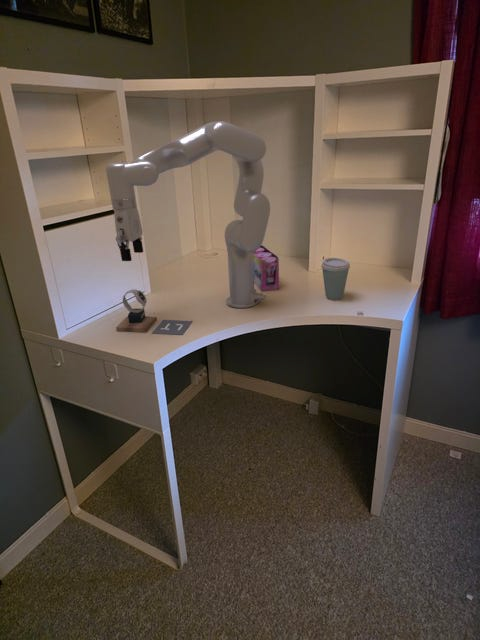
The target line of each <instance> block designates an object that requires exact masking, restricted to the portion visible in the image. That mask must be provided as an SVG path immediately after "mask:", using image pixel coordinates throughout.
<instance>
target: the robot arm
mask: <svg viewBox="0 0 480 640" xmlns="http://www.w3.org/2000/svg"><path fill="white" fill-rule="evenodd" d="M216 151H221V152H224V153H225V154H226V153H227V154H228V155H231V157H232V158H233V159H234V160H235V161H236V164H237V166H238V170H239V172H238V173H239V174H238V175H239V176H238V182H237V183H238V184H237V187H236V192H235V195H234V202H233V209H234V212H235V213H236V214H237V215H238V216H240V217H242V220H241V219H235V220H232V221H231V222H229V223H228V224H227V225H226V227H225V230H224V239H225V240H224V242H225V246H226V252H227V265H228V266H227V267H228V269H227V270H228V282H229V283H228V284H229V285H228V286H229V296H228V297H227V298H226V300H225V303H226V305H228V306H229V307H231V308H235V309H247V308H251V307H254V306H257V305H258V304H259V300H263V301H265V300H266V299H267V298H266V297H267V295H266V294H264V293H263V292H260V293H259V292H257V289H256V288H255V283H254V261H253V252H254V251H256V250H258V249H259V248H260V246H261V245H263V243H264V240H265V239H264V238H265V237H266V232H267V228H268V223H269V219H270V215H271V204H270V201H269V199H268V197H267V196H266V195H265V194H264V193H262V188H263V182H264V174H265V172H264V170H265V169H264V164H263V162H262V159H263V158H264V157H265V155H266V153H267V152H266V151H267V144H266V142H265V140H264V139H263V138H262V137H261V136H260V135H259V134H256V133H254V132H252V131H249V130H246V129H244V128H241V127H239V126H237V125H235V124H232V123H230V122H227V121H222V120H221V121H210V122H208V123H206V124H204V125H202V126H200V127H197V128H195V129H194V130H192V131H190V132H188V133H185V134H183V135H182V136H180V137H178V138H176V139H174V140H171V141H170V142H168V143H166V144H164V145H161V146H160V147H158V148H155V149H153V150H151V151H148V152H147V153H145V154H143V155H141V156H139V157H137V158H135V159H134V160H132V161H131V162H125V161H124V162H123V161H121V162H112V163H108V164H106V167H105V172H106V173H105V174H106V177H107V179H106V180H107V184H108V190H109V195H110V201H111V206H112V207H111V208H112V211H114V213H113V214H114V224H115V225H114V226H115V231H116V236H115V241H116V244H117V246H118V250H119V251H120V252H119V253H120V258H121V261H122V262H131V261H133V260H132V254H131V248H129V246H130V243H132V247H133V252H134V253H138V254H141V253H142V254H143V253H144V247H143V241H142V240H143V238H142V236H143V234H144V233H143V227H142V222H141V217H140V213H139V210H138V205H137V199H136V192H135V187H136V186H137V187H138V186H139V187H148V186H152V185H153V184H155V183H156V182H157V181H158V179H159V175H160V174H162V173H164V172H167V171H169V170H173V169H179V168H183V167H187V166H189V165H192V164H194V163H195V162H197V161H199V160H201V159H202V158H205V157H207V156H209V155H211V154H212V153H214V152H216Z"/></svg>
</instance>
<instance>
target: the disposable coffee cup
mask: <svg viewBox="0 0 480 640" xmlns="http://www.w3.org/2000/svg"><path fill="white" fill-rule="evenodd" d="M350 264H351V263H349V261H348V260H346V259H343V258H339V257H326V258H325V259H323V261H322V263H321V270H322V276H323V284H324V285H323V286H324V292H325V297H326V299H327V300H329V301H339V300H342V299H343V297H344V294H345V289H346V285H347V280H348V275H349V270H350V268H351V267H350V266H351V265H350Z"/></svg>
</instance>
